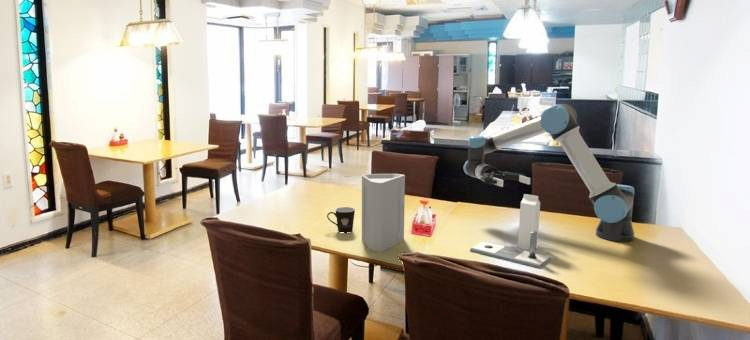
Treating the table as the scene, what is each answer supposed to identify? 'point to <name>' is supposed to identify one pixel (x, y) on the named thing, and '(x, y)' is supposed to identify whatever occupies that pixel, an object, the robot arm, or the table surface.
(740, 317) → the table surface
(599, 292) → the table surface
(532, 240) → the steel pin
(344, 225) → the coffee mug
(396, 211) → the tall triangular prism
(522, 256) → the plate
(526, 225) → the milk
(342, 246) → the table surface
